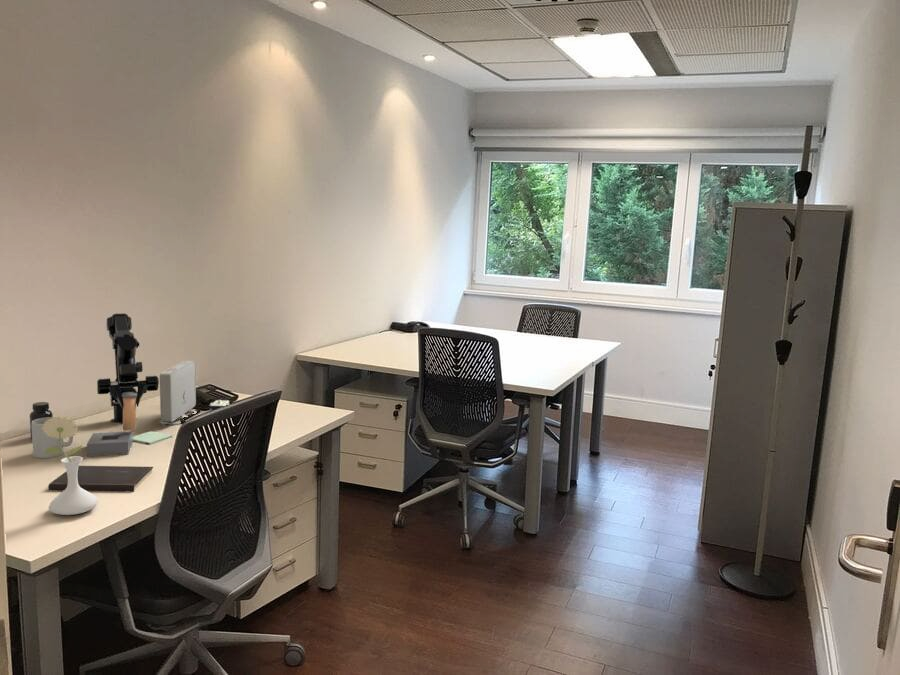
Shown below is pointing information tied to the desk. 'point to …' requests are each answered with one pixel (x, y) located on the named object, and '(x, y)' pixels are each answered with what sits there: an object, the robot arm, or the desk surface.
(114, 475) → the hardcover book
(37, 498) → the desk surface
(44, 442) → the mug
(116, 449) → the grey peg hole block
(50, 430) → the flower in vase
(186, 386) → the network device
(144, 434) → the mat
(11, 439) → the desk surface
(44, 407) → the supplement bottle
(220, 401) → the pneumatic valve
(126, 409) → the plug
